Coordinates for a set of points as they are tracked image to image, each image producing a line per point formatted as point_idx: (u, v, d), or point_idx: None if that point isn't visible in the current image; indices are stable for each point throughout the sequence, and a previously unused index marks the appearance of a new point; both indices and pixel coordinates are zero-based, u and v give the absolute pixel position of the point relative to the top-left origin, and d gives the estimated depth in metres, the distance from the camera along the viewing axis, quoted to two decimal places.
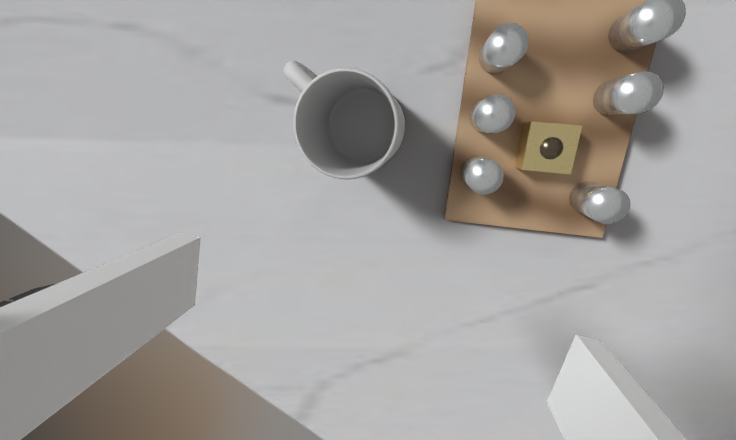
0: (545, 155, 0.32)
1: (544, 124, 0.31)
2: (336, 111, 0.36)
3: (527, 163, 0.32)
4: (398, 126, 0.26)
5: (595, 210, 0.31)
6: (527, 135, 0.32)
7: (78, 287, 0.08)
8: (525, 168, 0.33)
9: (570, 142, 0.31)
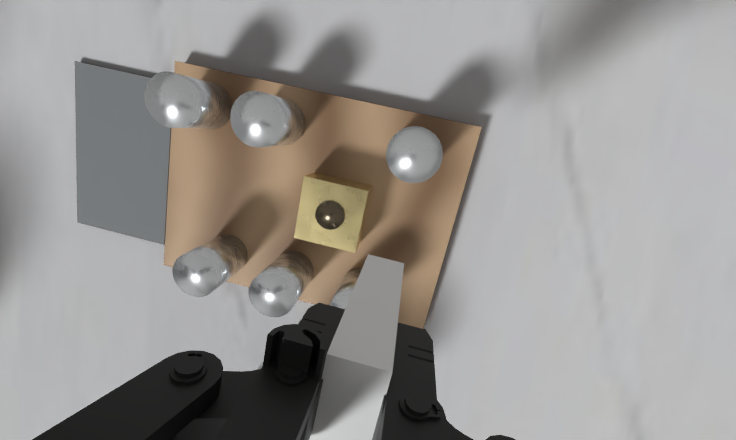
0: (339, 222, 0.23)
1: (299, 222, 0.24)
2: None
3: (347, 245, 0.24)
4: None
5: (417, 175, 0.20)
6: (311, 240, 0.24)
7: (363, 308, 0.10)
8: (353, 248, 0.24)
9: (324, 191, 0.23)
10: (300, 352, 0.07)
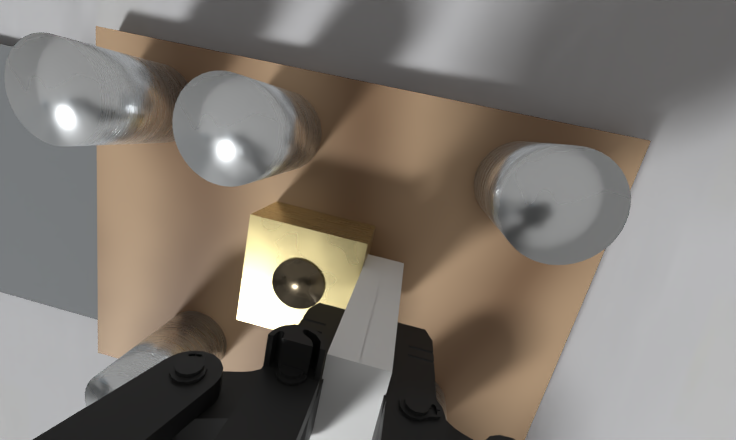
0: (315, 297, 0.13)
1: (244, 294, 0.13)
2: None
3: None
4: None
5: (566, 250, 0.09)
6: (268, 324, 0.14)
7: (363, 308, 0.10)
8: None
9: (288, 241, 0.13)
10: (300, 352, 0.07)
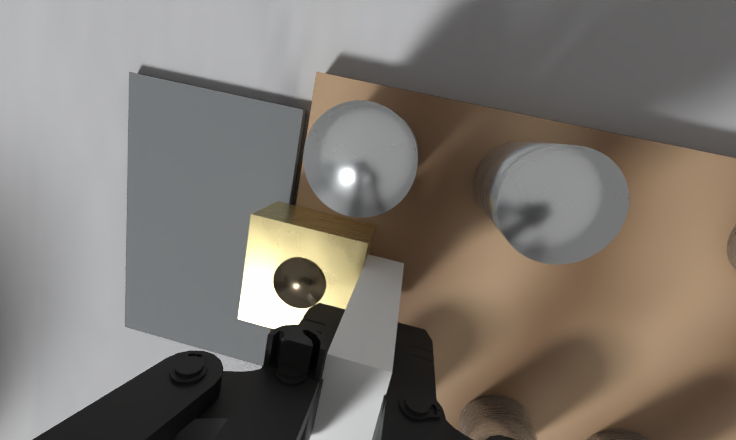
0: (316, 296, 0.13)
1: (246, 294, 0.13)
2: None
3: None
4: None
5: None
6: (269, 323, 0.14)
7: (363, 308, 0.10)
8: None
9: (288, 241, 0.13)
10: (300, 352, 0.07)
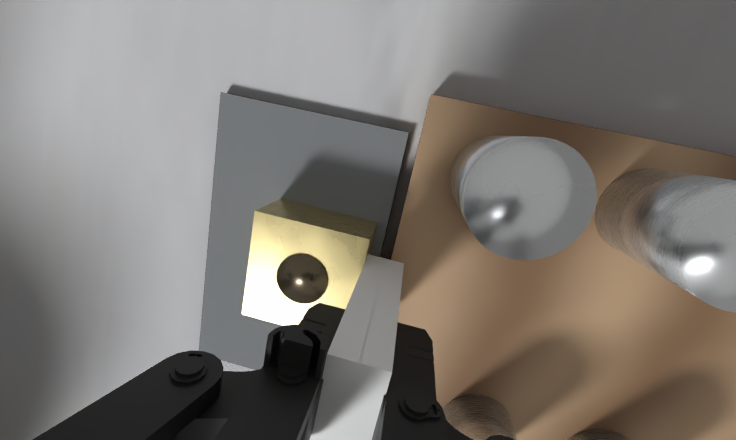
0: (318, 291, 0.13)
1: (249, 289, 0.14)
2: None
3: None
4: None
5: None
6: (273, 318, 0.14)
7: (363, 308, 0.10)
8: None
9: (291, 237, 0.13)
10: (300, 352, 0.07)
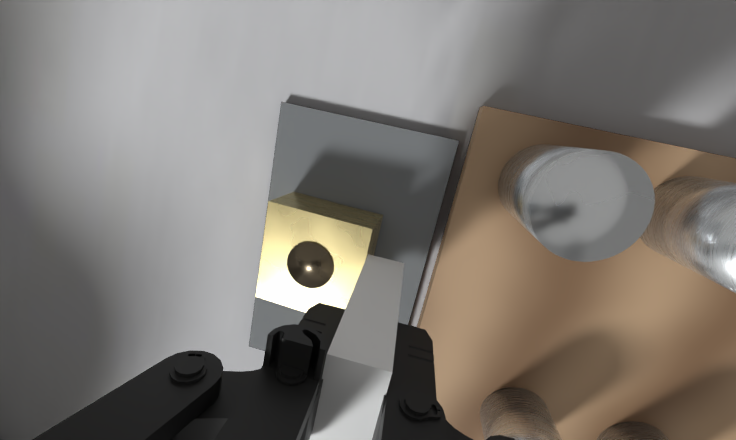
0: (325, 277, 0.14)
1: (263, 273, 0.15)
2: None
3: None
4: None
5: None
6: (283, 302, 0.15)
7: (363, 308, 0.10)
8: None
9: (301, 226, 0.14)
10: (300, 352, 0.07)
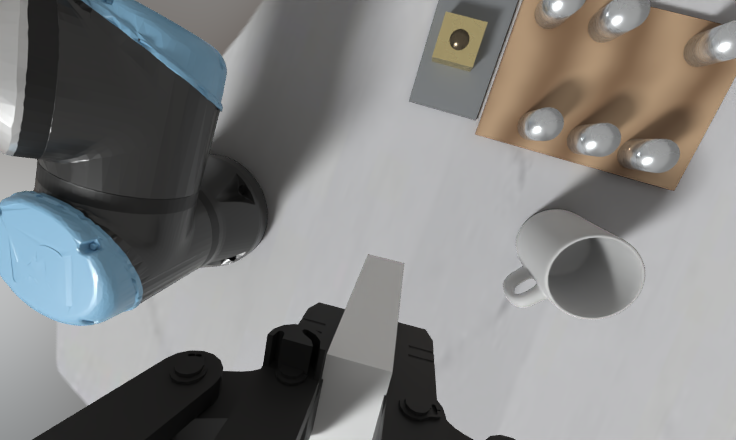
0: (464, 45, 0.36)
1: (437, 45, 0.36)
2: None
3: (468, 62, 0.36)
4: (610, 235, 0.30)
5: None
6: (443, 60, 0.37)
7: (363, 308, 0.10)
8: (472, 64, 0.36)
9: (458, 22, 0.35)
10: (300, 352, 0.07)
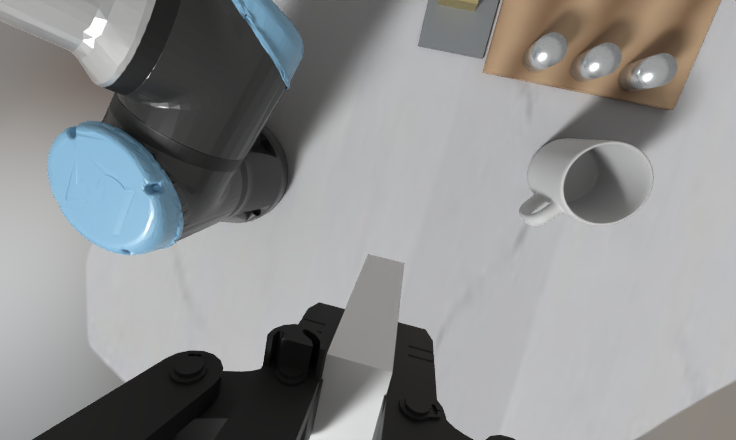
0: None
1: None
2: None
3: None
4: (619, 141, 0.33)
5: None
6: None
7: (363, 308, 0.10)
8: (477, 0, 0.38)
9: None
10: (300, 352, 0.07)
